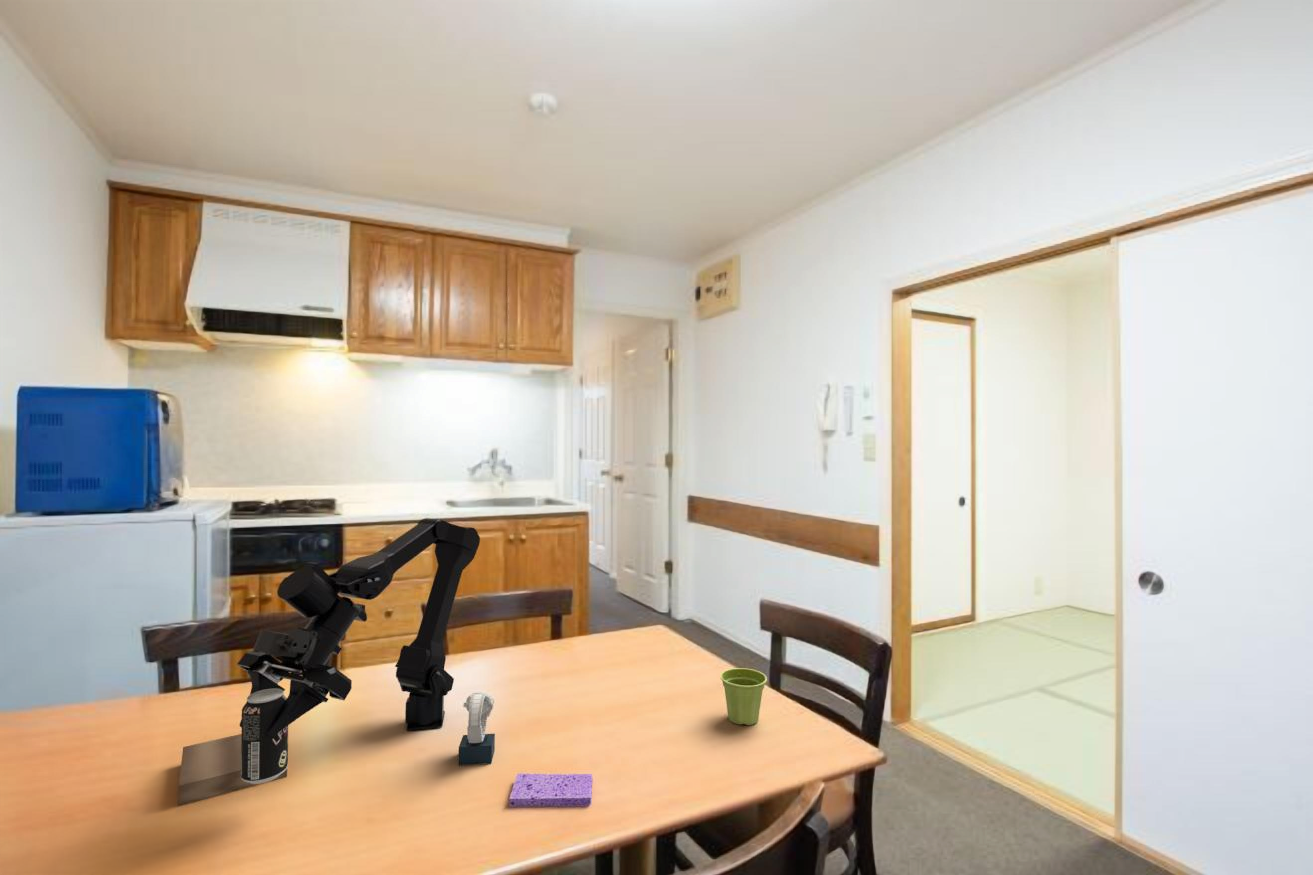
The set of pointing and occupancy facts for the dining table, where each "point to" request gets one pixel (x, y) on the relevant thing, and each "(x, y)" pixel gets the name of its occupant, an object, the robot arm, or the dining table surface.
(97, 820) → the dining table surface
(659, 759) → the dining table surface
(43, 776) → the dining table surface
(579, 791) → the sponges
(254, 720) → the beverage can
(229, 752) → the walnut block
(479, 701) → the watch
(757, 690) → the plant pot
